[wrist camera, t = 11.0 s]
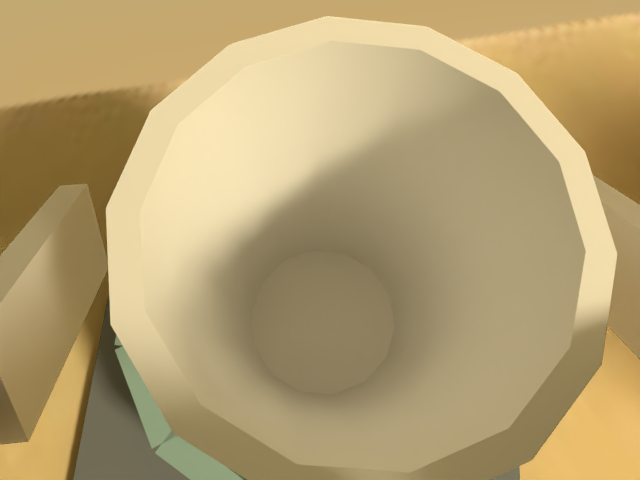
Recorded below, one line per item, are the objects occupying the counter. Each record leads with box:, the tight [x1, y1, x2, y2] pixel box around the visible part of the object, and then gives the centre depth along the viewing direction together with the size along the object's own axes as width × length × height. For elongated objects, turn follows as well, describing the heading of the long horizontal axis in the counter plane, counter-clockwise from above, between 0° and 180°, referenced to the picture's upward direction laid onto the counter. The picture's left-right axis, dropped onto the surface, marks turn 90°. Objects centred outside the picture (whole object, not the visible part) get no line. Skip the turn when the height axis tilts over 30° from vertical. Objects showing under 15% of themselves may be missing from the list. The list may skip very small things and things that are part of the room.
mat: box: [73, 296, 520, 480], centre depth 23 cm, size 18×16×1 cm
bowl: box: [114, 335, 247, 480], centre depth 21 cm, size 14×14×3 cm
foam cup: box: [106, 16, 617, 480], centre depth 16 cm, size 10×9×13 cm
